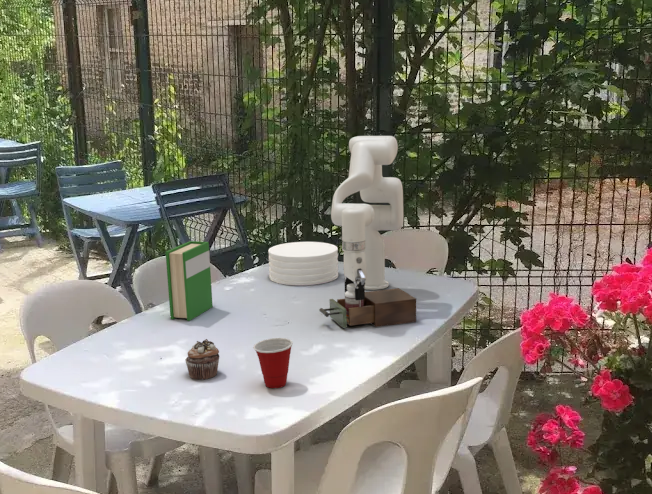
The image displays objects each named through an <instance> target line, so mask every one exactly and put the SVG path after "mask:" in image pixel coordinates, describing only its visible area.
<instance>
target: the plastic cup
mask: <svg viewBox="0 0 652 494" xmlns="http://www.w3.org/2000/svg"><path fill="white" fill-rule="evenodd" d="M293 344H294V341H293V340H292V339H290V338H288V337H287V338H286V337H271V338H267V339H263V340H261V341H258V342H256V343H255V344H254V345H253V347H252V348H253V349H254V351H255V353H256V356H257V358H258V362H259V365H260V370H261V374H262V378H263V382H264V385H265V387H267V388H269V389H280V388H283V387H285V386H286V384H287V382H288V375H289V374H288V373H289V368H290V367H289V366H290V359H291V353H292V347H293Z"/></svg>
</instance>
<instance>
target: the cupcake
mask: <svg viewBox="0 0 652 494" xmlns="http://www.w3.org/2000/svg"><path fill="white" fill-rule="evenodd" d="M184 361H185V365H186V368H187V371H188V376H189V377H190V378H191V379H193V380H201V381H202V380H208V379H212V378H214V377H216V376H217V375H218V368H219V363H220V350H219V349H218V348H217V347H216V345H215V343H214V342H213V341H211V340H208V339H207V338H206V339H204V340H202V342H201V341H199V340H196V342H195V343H194V344H193V345H192V346H191V349H189V350H188V352H187V357H186V358H185V360H184Z"/></svg>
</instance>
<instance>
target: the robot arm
mask: <svg viewBox="0 0 652 494" xmlns="http://www.w3.org/2000/svg"><path fill="white" fill-rule="evenodd" d="M348 148H349V149H348V150H349V152H350V161H349V170H348V177H347V178H346V179H345V180H344V181H343V182H341V183H340V184H339V186H338V187H337V188H336V190H335V191H334V194H333V196H332V202H331V209H330V219H331V222H332V224H333V225H335V226H336V227H337V226H338V227H341V239H342V240H341V244H342V245H341V246H342V248H341V249H342V251H343V275H344V277H343V280H344V293H345V292H346V291H348V290H347V285H348V284H353V283H355V286H356V288H355V300H364V299H365V292H366V291H365V290H367V291H378V290H385V289H387V288H388V287H389V286H390V282H389V281H387V280H386V275H385V274H386V260H385V259H386V256H385V255H386V254H385V253H386V251H385V250H386V247H385V244H386V243H385V240H384V237H383V236H382V234H381V233H380V232H379V231H399V230H401V229H402V228H403V226H404V190H403V189H404V188H403V183H402V181H401V179H400V178H398V177H395V176H394V177H393V176H383V166H388V165H391V164H393V162H394V161H395V159H396V157H397V154H398V150H399V145H398V141H397V138H396V137H395V136H393V135H357V136H354V137H350V139H349V142H348ZM358 192H359V195H360V199H361V200H362V201H363V202H364V203H347V202H346V203H343V202H344V200H346V198H348V197H349V196H351V195H353V194H356V193H358ZM368 203H371V204H368Z"/></svg>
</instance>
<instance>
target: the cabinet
mask: <svg viewBox="0 0 652 494" xmlns="http://www.w3.org/2000/svg"><path fill="white" fill-rule="evenodd" d="M365 299H366V300H368V301H369V302H371V303H372V304H374V305H375V323H370V324H371V326H374V328H379V327H380V328H381V327H387V326H396V325H403V324H411V323H416V322H417V298H416V297H414V296H413V295H411V294H409V293H408V292H406V291H404V290H402V289H401V288H399V287H396V288H395V287H394V288H388V289H387V288H385V289H379V290H368V291H365Z"/></svg>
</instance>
